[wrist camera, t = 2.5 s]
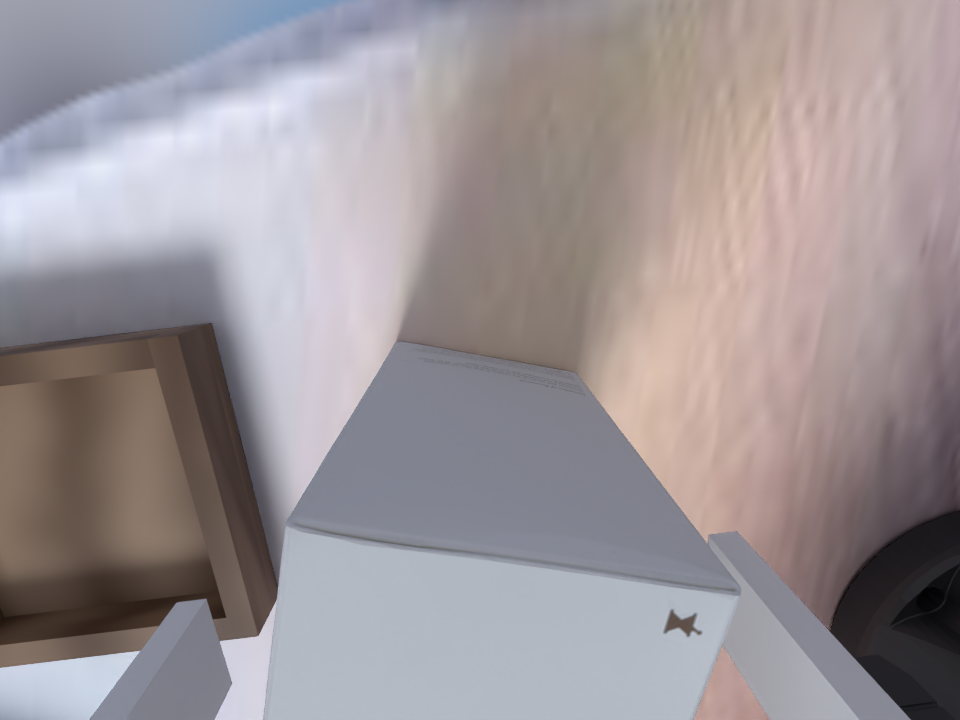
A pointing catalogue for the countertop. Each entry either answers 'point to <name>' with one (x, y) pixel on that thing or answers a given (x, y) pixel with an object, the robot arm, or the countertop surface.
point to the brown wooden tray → (123, 496)
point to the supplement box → (490, 560)
